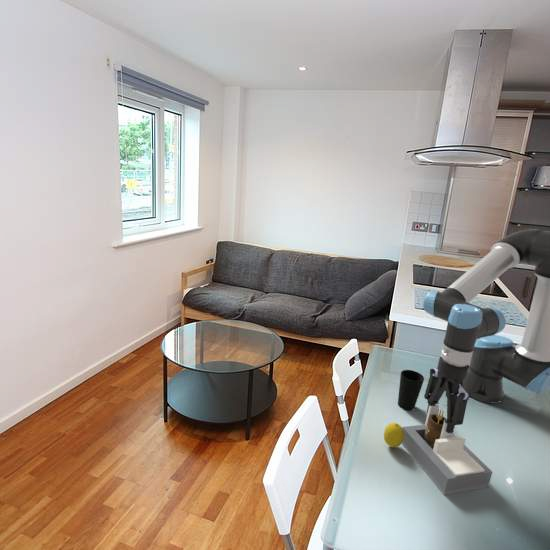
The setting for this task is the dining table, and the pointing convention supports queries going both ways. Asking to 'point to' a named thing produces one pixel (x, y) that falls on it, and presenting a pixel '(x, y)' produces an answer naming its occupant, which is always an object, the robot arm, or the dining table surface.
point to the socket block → (442, 464)
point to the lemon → (393, 435)
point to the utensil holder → (434, 427)
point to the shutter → (456, 456)
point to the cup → (409, 389)
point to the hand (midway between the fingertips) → (436, 432)
